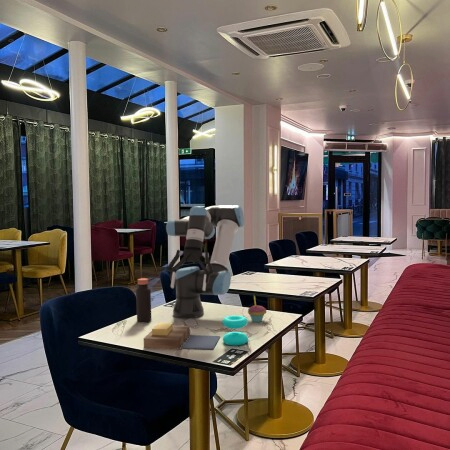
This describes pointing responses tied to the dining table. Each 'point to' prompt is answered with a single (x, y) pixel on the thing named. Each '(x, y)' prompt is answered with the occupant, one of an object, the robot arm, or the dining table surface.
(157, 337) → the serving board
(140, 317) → the bottle
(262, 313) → the cupcake
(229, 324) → the donuts
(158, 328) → the yellow flat block
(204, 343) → the mat
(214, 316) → the dining table surface
